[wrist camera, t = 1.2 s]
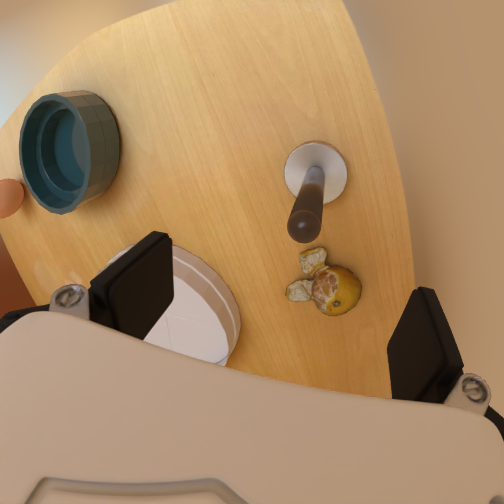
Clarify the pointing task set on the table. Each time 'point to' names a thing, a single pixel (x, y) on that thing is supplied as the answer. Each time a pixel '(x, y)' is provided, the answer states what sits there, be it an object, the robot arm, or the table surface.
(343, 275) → the fruit
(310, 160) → the upright rod
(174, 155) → the table surface
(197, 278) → the dish
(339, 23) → the table surface
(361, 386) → the table surface
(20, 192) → the egg
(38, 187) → the bowl
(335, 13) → the table surface
